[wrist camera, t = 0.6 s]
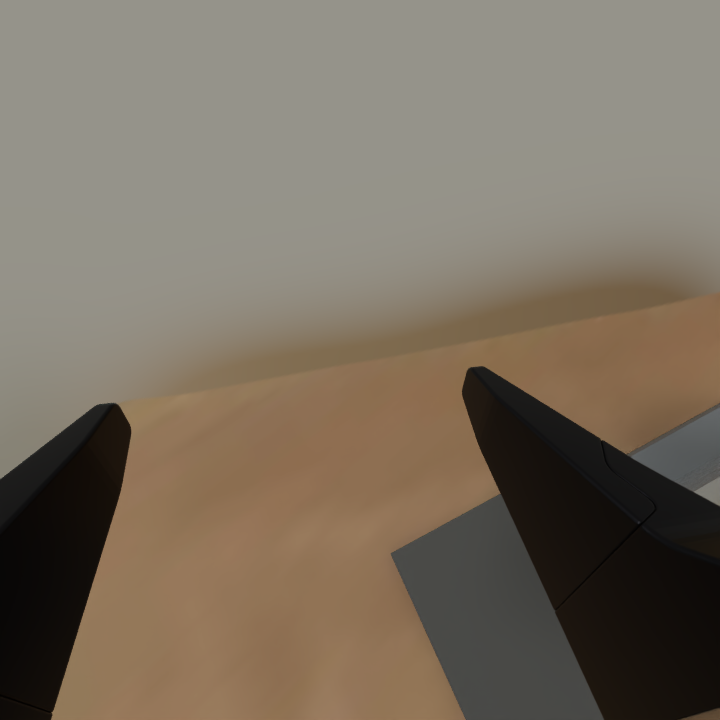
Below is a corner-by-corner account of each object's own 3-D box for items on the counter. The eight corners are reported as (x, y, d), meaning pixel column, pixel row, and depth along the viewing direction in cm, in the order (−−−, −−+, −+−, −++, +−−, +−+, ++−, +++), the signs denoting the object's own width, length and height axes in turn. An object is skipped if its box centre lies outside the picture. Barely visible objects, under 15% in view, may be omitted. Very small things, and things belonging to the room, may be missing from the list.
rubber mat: (662, 711, 18) (670, 717, 18) (508, 811, 17) (511, 820, 17) (514, 486, 24) (516, 484, 23) (390, 553, 23) (390, 553, 22)
